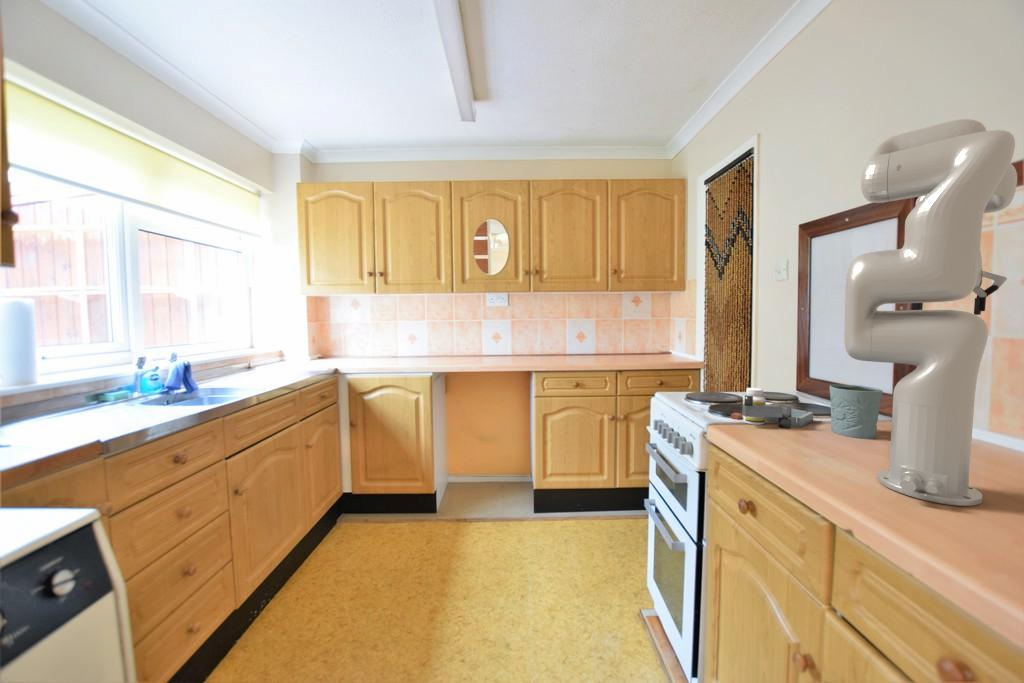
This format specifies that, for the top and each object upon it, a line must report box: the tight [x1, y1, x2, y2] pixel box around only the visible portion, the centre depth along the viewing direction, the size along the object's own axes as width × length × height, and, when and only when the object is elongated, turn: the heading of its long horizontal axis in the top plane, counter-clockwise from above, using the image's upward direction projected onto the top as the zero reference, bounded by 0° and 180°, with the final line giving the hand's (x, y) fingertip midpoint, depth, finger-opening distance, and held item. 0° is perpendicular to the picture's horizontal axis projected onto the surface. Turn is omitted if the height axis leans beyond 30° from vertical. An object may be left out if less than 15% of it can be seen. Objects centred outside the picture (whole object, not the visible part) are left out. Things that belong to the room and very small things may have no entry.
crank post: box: [730, 412, 792, 430], centre depth 110 cm, size 3×15×3 cm, turn 37°
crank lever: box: [741, 394, 793, 418], centre depth 106 cm, size 12×3×6 cm, turn 82°
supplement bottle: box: [742, 387, 766, 426], centre depth 110 cm, size 5×5×10 cm
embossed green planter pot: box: [829, 384, 883, 440], centre depth 99 cm, size 10×10×12 cm
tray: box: [765, 408, 814, 428], centre depth 112 cm, size 10×10×2 cm
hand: (946, 314), depth 94 cm, fingers open, 9 cm apart
